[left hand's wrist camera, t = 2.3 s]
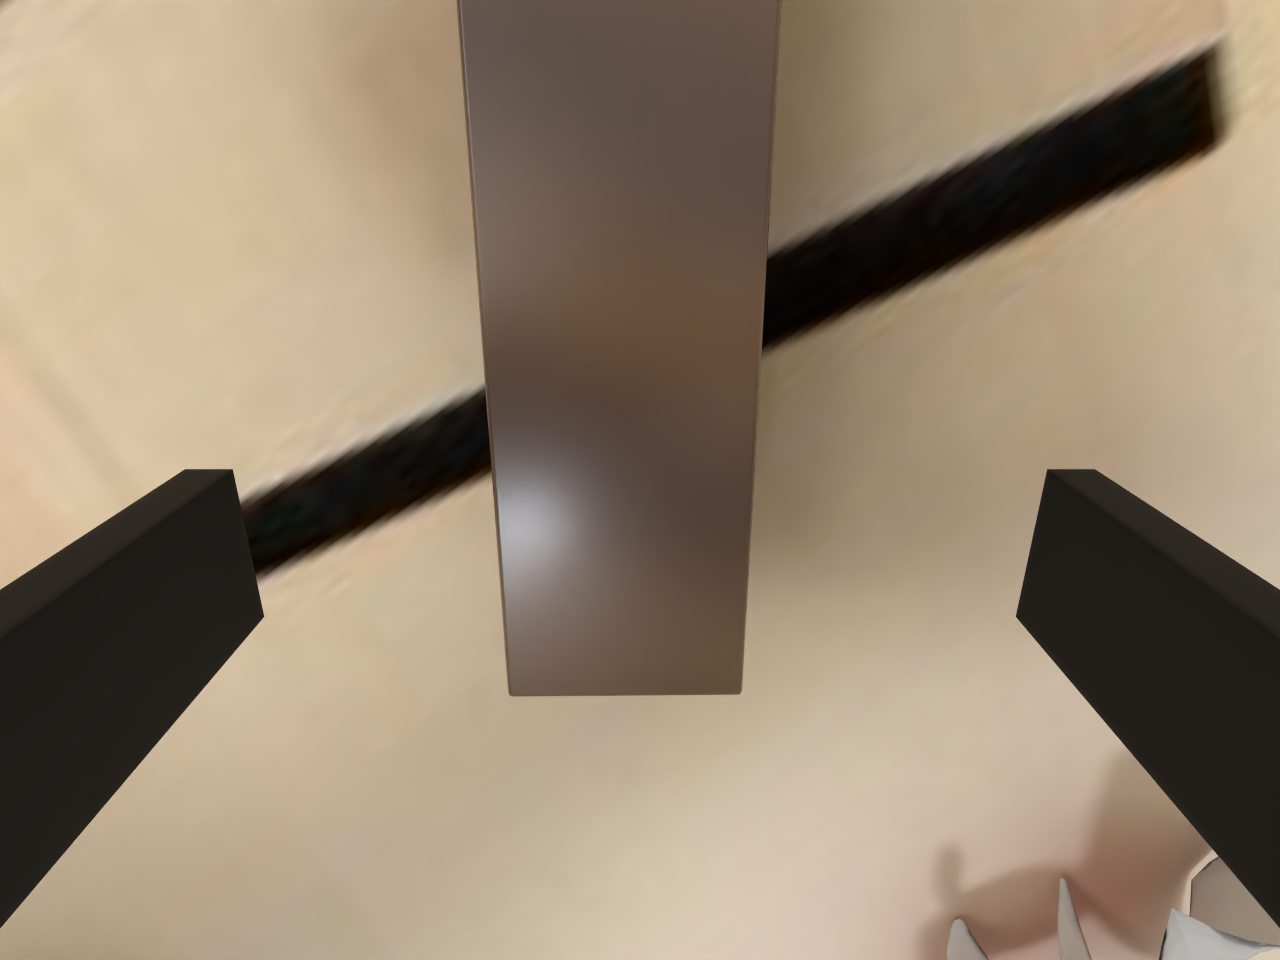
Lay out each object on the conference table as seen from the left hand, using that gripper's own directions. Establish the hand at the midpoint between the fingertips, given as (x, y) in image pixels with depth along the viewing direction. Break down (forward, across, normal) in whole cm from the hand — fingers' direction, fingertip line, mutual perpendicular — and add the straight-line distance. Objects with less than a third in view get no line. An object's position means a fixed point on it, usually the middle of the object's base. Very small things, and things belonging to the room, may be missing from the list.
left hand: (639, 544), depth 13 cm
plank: (+10, 0, -27) cm, 29 cm away
